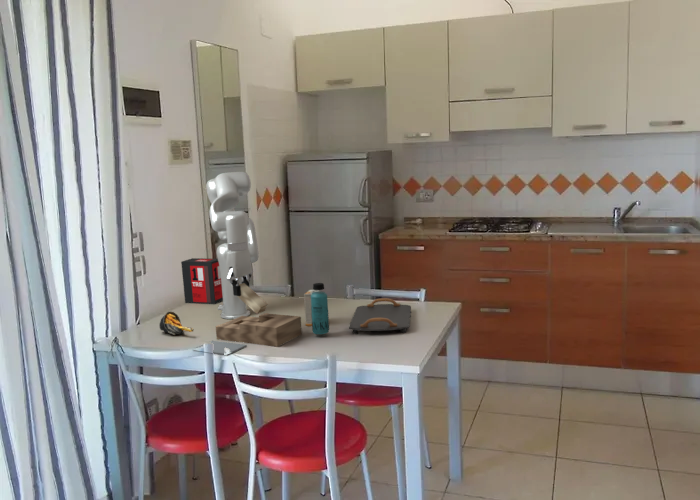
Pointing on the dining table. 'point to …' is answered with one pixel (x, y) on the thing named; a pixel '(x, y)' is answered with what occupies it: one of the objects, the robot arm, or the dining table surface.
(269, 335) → the slotted wooden block
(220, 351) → the rubber mat
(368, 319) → the serving board
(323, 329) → the beverage bottle
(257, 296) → the maple bar
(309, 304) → the supplement box
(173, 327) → the fried shrimp in bowl
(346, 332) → the dining table surface
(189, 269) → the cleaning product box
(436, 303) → the dining table surface
